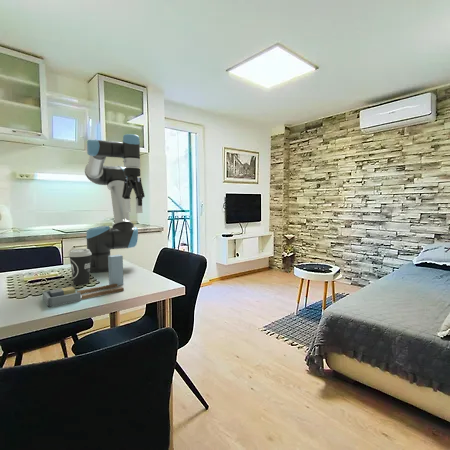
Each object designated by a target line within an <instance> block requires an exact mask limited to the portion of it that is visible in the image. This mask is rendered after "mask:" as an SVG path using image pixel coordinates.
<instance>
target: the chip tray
mask: <svg viewBox="0 0 450 450" xmlns="http://www.w3.org/2000/svg"><path fill="white" fill-rule="evenodd" d="M67 287H68V286H67ZM67 287H65V288H67ZM71 287H74V286H71ZM56 289H57V288H56ZM56 289H54V290H56ZM59 289H61V287H60V288H59ZM50 290H51V289H50ZM50 290H44V291H42V300H43V301H44V303H45V304H46V305H47V306H48V308H51V307H52V308H53V307H56V306H61V305H65V304H71V303H76V302H81V299H82V296H81V295H82V294H80V292H78V293H77V292H76V293H73V294H67V295H62V296H57V297H52V298H51V297H50V294H49V291H50Z"/></svg>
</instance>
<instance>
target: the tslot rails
mask: <svg viewBox="0 0 450 450" xmlns="http://www.w3.org/2000/svg"><path fill="white" fill-rule="evenodd" d="M124 290H125V289H124V287H123V286H121V287H118V286H117V284H111V285H109V284H108V285H107V284H106V285H101V286H95V287H89V288H84V289H78V290H76V293H78V292H80V294H81V299H82V300H85V299H90V298H95V297H96V298H97V297H100V296H104V295H110V294H114V293H119V292H124Z"/></svg>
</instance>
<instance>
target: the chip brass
mask: <svg viewBox="0 0 450 450" xmlns="http://www.w3.org/2000/svg"><path fill="white" fill-rule="evenodd" d="M60 288H61V287H60ZM61 289H62V290H63V291H64V295H67V294H73V293H77V290H76V288H75V286H73V287H72V286H67V288H66V287H62V288H61Z"/></svg>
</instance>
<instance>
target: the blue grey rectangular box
mask: <svg viewBox="0 0 450 450" xmlns="http://www.w3.org/2000/svg"><path fill="white" fill-rule="evenodd" d="M110 255H111V254H110ZM123 260H124V256H123V255H122V254H112V255H111V256H108V268H109V271H108V285H111V284H117V287H118V286H122V285H124V284H125V283H124V261H123Z"/></svg>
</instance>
